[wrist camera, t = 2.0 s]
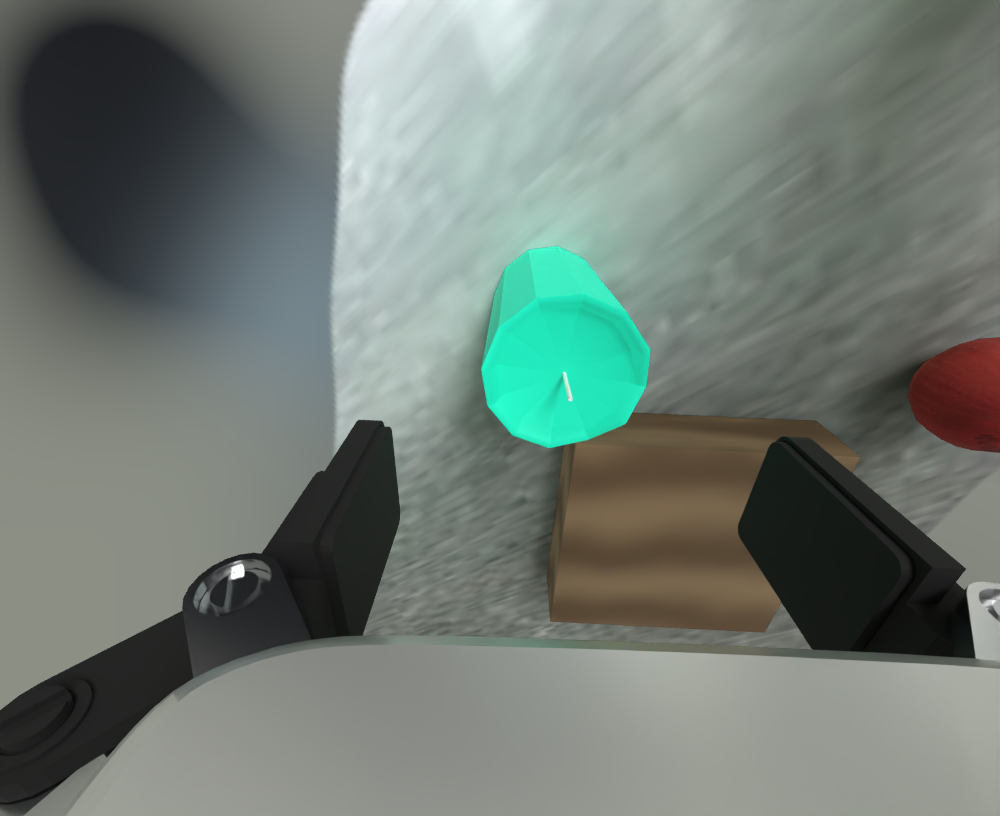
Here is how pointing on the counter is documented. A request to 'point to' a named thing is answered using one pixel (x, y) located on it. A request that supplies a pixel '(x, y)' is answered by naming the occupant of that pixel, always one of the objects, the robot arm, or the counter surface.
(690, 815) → the robot arm
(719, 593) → the walnut base
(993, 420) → the onion
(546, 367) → the candle
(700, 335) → the counter surface
